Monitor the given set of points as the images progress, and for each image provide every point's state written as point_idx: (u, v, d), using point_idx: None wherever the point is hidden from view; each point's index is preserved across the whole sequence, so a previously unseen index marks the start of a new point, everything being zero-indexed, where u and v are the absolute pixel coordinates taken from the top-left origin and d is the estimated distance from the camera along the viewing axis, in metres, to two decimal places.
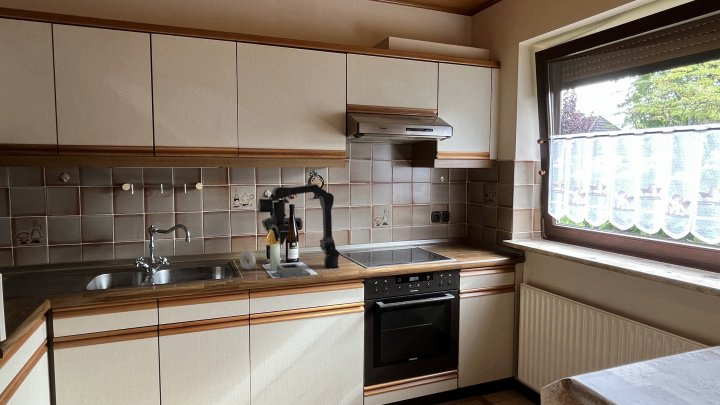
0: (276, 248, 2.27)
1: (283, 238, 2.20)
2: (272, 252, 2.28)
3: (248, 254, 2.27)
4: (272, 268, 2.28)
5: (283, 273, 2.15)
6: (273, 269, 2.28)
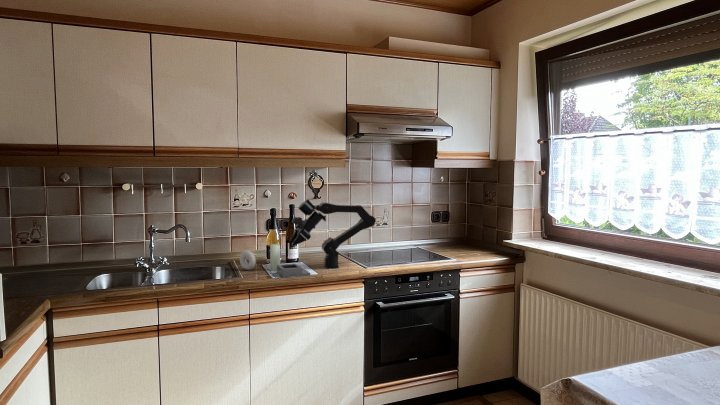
0: (276, 248, 2.27)
1: (297, 241, 2.27)
2: (272, 252, 2.28)
3: (248, 254, 2.27)
4: (272, 268, 2.28)
5: (283, 273, 2.15)
6: (273, 269, 2.28)
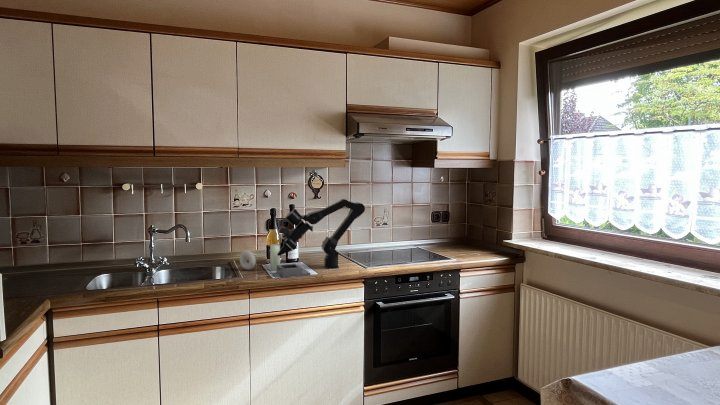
0: (276, 248, 2.27)
1: (283, 251, 2.25)
2: (272, 252, 2.28)
3: (248, 254, 2.27)
4: (272, 268, 2.28)
5: (283, 273, 2.15)
6: (273, 269, 2.28)
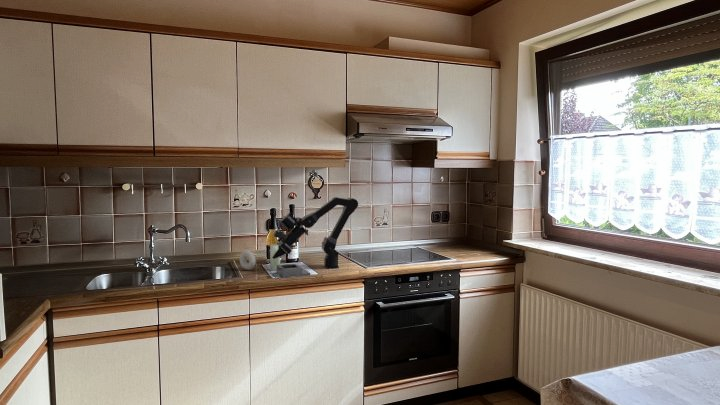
0: (276, 248, 2.27)
1: (278, 255, 2.27)
2: (272, 252, 2.28)
3: (248, 254, 2.27)
4: (272, 268, 2.28)
5: (283, 273, 2.15)
6: (273, 269, 2.28)
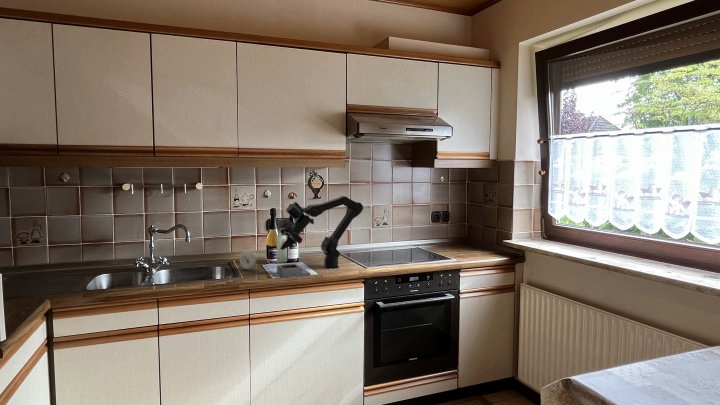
0: (283, 239, 2.22)
1: (287, 245, 2.21)
2: (280, 243, 2.22)
3: (248, 254, 2.27)
4: (280, 259, 2.22)
5: (283, 273, 2.15)
6: (281, 260, 2.22)
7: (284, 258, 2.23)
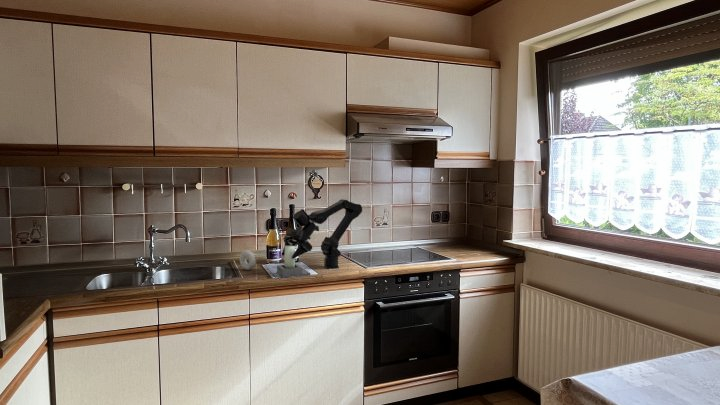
0: (293, 250, 2.19)
1: (298, 254, 2.17)
2: (289, 254, 2.18)
3: (248, 254, 2.27)
4: None
5: (283, 273, 2.15)
6: None
7: None
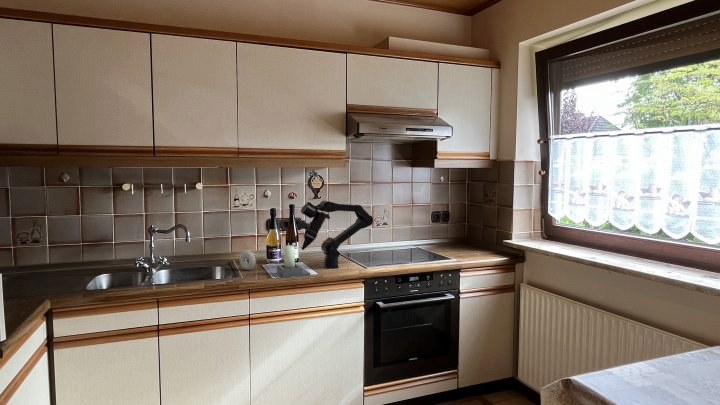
0: (292, 250, 2.19)
1: (306, 243, 2.25)
2: (288, 254, 2.19)
3: (248, 254, 2.27)
4: None
5: (283, 273, 2.15)
6: None
7: None
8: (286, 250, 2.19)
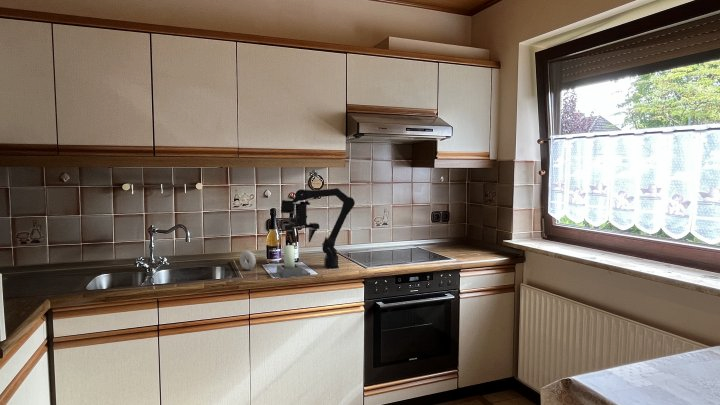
0: (292, 250, 2.19)
1: (290, 237, 2.33)
2: (288, 254, 2.19)
3: (248, 254, 2.27)
4: None
5: (283, 273, 2.15)
6: None
7: None
8: (286, 250, 2.19)
